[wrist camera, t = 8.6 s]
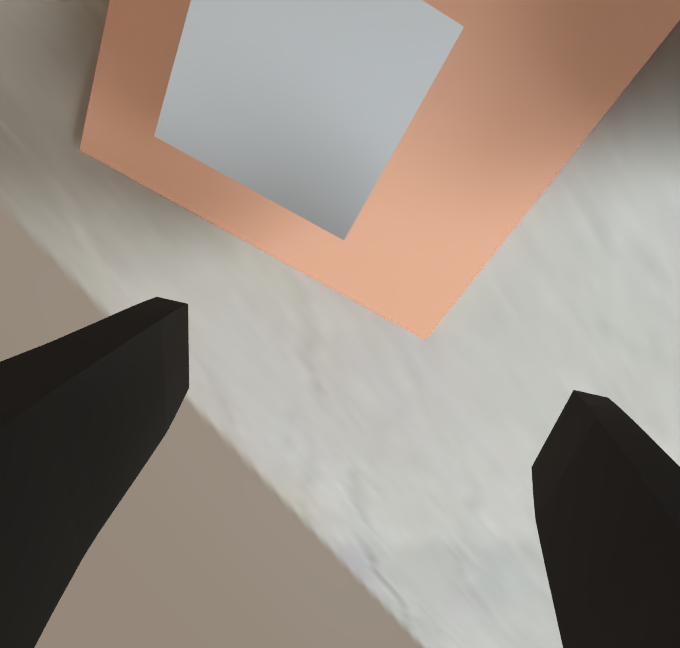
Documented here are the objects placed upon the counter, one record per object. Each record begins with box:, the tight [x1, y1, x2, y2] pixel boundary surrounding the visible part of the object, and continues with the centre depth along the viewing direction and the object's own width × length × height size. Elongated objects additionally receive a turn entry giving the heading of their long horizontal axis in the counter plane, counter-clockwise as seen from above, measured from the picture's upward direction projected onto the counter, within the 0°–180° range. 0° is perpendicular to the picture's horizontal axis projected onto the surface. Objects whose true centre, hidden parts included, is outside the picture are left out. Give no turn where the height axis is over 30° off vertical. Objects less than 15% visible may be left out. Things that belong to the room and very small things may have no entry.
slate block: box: [154, 0, 464, 240], centre depth 11 cm, size 4×4×7 cm
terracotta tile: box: [79, 0, 680, 340], centre depth 15 cm, size 14×13×1 cm
